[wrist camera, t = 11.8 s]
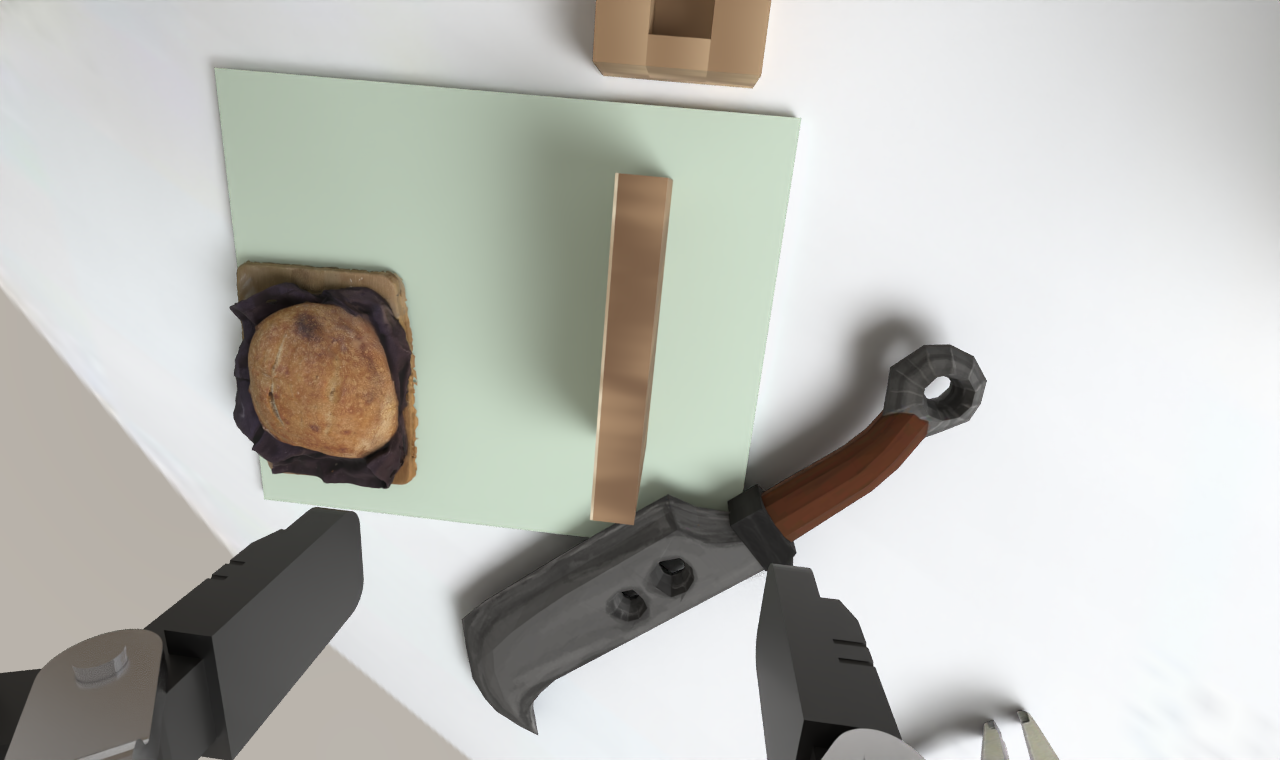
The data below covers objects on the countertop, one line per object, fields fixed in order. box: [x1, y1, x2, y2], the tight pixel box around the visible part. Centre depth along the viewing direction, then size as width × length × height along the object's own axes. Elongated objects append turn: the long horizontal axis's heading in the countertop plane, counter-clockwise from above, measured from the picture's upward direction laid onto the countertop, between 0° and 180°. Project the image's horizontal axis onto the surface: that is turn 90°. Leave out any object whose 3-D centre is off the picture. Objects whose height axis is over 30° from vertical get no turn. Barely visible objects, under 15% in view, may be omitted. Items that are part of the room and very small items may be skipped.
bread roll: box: [230, 260, 419, 489], centre depth 27 cm, size 11×8×4 cm
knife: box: [462, 345, 987, 735], centre depth 29 cm, size 9×2×30 cm
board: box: [590, 173, 673, 525], centre depth 24 cm, size 2×7×12 cm
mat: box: [214, 68, 801, 538], centre depth 28 cm, size 24×20×1 cm
